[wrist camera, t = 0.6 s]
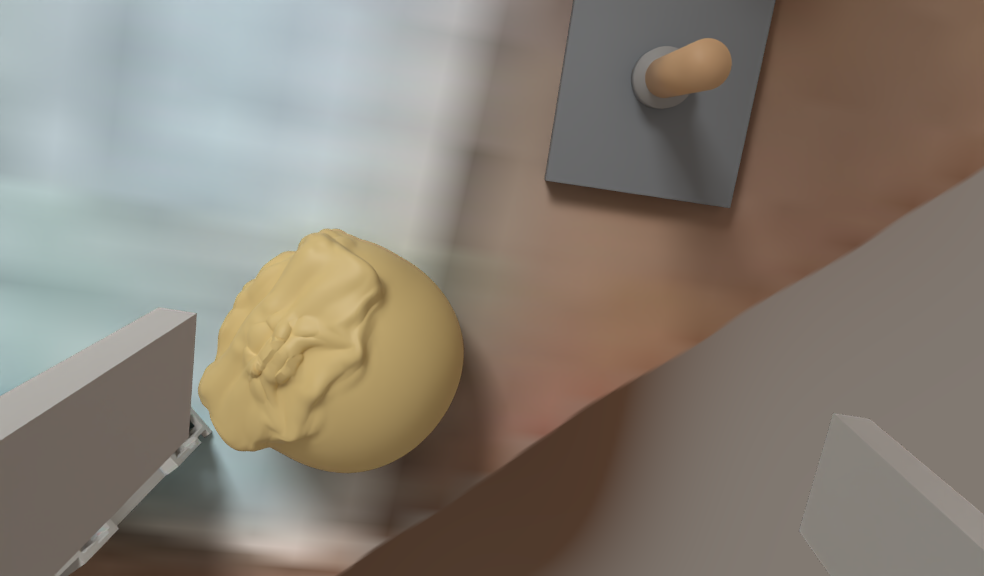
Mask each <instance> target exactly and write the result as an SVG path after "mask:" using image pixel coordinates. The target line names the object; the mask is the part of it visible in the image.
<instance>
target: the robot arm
mask: <svg viewBox="0 0 984 576" xmlns="http://www.w3.org/2000/svg"><path fill="white" fill-rule="evenodd" d="M196 317H197V313H192V312H185V311H179V310H173V309H166V308H160V307H159V308H157V309H155V310H153V311H151V312H150V313H148V314H146V315H144V316H143V317H141V318H139V319H137V320H135V321H134V322H132V323H130V324H128V325H126V326H125V327H123V328H121V329H119V330H117V331H116V332H114V333H112V334H110V335H109V336H107V337H105V338H103V339H101V340H100V341H98V342H96V343H94V344H92V345H91V346H89V347H87V348H85V349H84V350H82V351H80V352H78V353H76V354H75V355H73V356H71V357H69V358H67V359H66V360H64V361H62V362H60V363H59V364H57V365H55V366H53V367H51V368H50V369H48V370H46V371H44V372H42V373H41V374H39V375H37V376H35V377H34V378H32V379H30V380H28V381H26V382H25V383H23V384H21V385H19V386H17V387H16V388H14V389H12V390H10V391H9V392H7V393H5V394H3V395H1V396H0V576H54V575H55V574H56V573H57V572H58V571H59V570H60V569H61V568H62V567H63V566H64V565H65V564H66V563H67V562H68V561H69V560H70V559H71V558H72V557H73V556H74V555H75V554H76V553H77V552H78V551H79V550H80V549H81V548H82V547H83V546H84V545H85V544H86V542H87V541H88V540H89V539H90V538H91V537H92V536H93V535H94V534H95V533H96V532H97V531H98V530H99V529H100V528H101V527H102V526H103V525H104V524H105V523H106V522H107V521H108V520H109V519H110V518H111V517H112V516H113V515H114V514H115V513H116V512H117V511H118V510H119V509H120V508H121V507H122V506H123V505H124V504H125V503H126V501H127V500H128V499H129V498H130V497H131V496H132V495H133V494H134V493H135V492H136V491H137V490H138V489H139V488H140V487H141V486H142V485H143V484H144V483H145V482H146V481H147V480H148V479H149V478H150V477H151V476H152V475H153V474H154V473H155V472H156V471H157V470H158V469H159V468H160V467H161V466H162V465H163V464H164V463H165V462H166V461H167V459H168V458H169V457H170V456H171V455H172V454H173V453H174V452H175V451H176V450H177V449H178V448H179V447H180V446H181V445H182V444H183V443H184V442H185V441H186V440H187V439H188V438H189V425H190V409H191V394H192V378H193V363H194V348H195V332H196ZM799 532H800V533H801V535H802V536H803V538H804V539H805V541H806V542H807V544H808V545H809V546H810V548H811V549H812V551H813V552H814V554H815V555H816V556H817V558H818V559H819V561H820V562H821V563H822V565H823V566H824V568H825V569H826V571H827V572H828V573H829V575H830V576H984V514H983V513H982V512H981V511H979V510H978V509H977V508H976V507H975V506H973V505H972V504H971V503H970V502H969V501H967V500H966V499H965V498H964V497H963V496H962V495H960V494H959V493H958V492H957V491H955V490H954V489H953V488H952V487H951V486H950V485H948V484H947V483H946V482H944V480H942V479H941V478H940V477H939V476H938V475H936V474H935V473H934V472H933V471H931V470H930V469H929V468H928V467H927V466H926V465H924V464H923V463H922V462H921V461H920V460H918V459H917V458H916V457H915V456H914V455H912V454H911V453H910V452H909V451H908V450H907V449H905V448H904V447H903V446H902V445H901V444H899V443H898V442H897V441H896V440H895V439H893V438H892V437H891V436H890V435H889V434H887V433H886V432H885V431H884V430H883V429H881V428H880V427H879V426H878V425H877V424H875V423H874V422H873V421H872V420H871V419H869V418H863V417H856V416H850V415H844V414H837V413H833V415H832V418H831V422H830V425H829V429H828V432H827V436H826V439H825V442H824V446H823V449H822V453H821V457H820V460H819V463H818V467H817V470H816V473H815V477H814V480H813V484H812V487H811V491H810V494H809V498H808V501H807V505H806V508H805V511H804V515H803V518H802V522H801V525H800V529H799Z"/></svg>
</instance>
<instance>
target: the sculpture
mask: <svg viewBox="0 0 984 576" xmlns="http://www.w3.org/2000/svg"><path fill="white" fill-rule="evenodd" d="M463 359H464V347H463V338H462V333H461V329H460V326H459V322H458V320H457V317H456V315H455V313H454V311H453V309H452V307H451V305H450V303H449V302H448V300H447V298H446V297H445V296H444V294H443V293H442V291H441V290H440V289H439V288H438V286H437V285H436V284H435V283H434V282H433V281H432V280H431V279H430V278H429V277H428V276H427V275H426V274H425V273H423V272H422V271H421V270H420V269H419V268H417V267H416V266H415V265H413V264H412V263H410V262H408V261H407V260H405V259H403V258H402V257H400V256H398V255H397V254H395V253H393V252H391V251H390V250H388V249H386V248H384V247H382V246H379V245H377V244H375V243H372V242H369V241H366V240H362V239H359V238H357V237H355V236H352V235H349V234H347V233H346V232H344V231H342V230H340V229H332V230H331V229H323V230H321V231H320V232H318V233H312V234H309V235H307V236H305V237H304V238H303V239H302V240H301V242H300V243H299V246H298V250H297V251H286V252H283V253H281V254H279V255H278V256H276V257H275V258H273V259H272V260H270V261H269V262H268V263H267V264H265V265H264V266H263V267H262V268H261V270H260V272H259V273H258V275H257V277H256V278H255V279H253V280H251V281H249V282H248V283H247V284H245V285H244V287H243V289H242V291H241V292H240V293H239V294H238V295H237V297H236V299H235V302H234V306H233V309H232V310H231V311H230V312H229V313H228V315H227V316H226V318H225V320H224V322H223V324H222V326H221V328H220V330H219V335H218V349H217V355H216V359H215V361H214V362H213V363H211V364H210V365H209V366H208V367H207V368H206V369H205V371H204V374H203V376H202V378H201V380H200V383H199V387H198V394H199V397H200V400H201V402H202V404H203V405H204V406H205V407H206V408H207V409H208V410H209V413H210V418H211V421H212V423H213V425H214V427H215V429H216V431H217V432H218V434H219V435H220V437H221V438H222V439H223V441H224V442H225V443H226V444H227V445H229V446H230V447H231V448H233V449H235V450H238V451H257V450H261V449H264V448H268V447H270V448H272V449H274V450H276V451H278V452H280V453H282V454H284V455H286V456H287V457H289V458H291V459H293V460H295V461H297V462H299V463H302V464H304V465H307V466H309V467H312V468H316V469H320V470H324V471H329V472H337V473H356V472H363V471H368V470H372V469H376V468H379V467H382V466H385V465H387V464H389V463H391V462H393V461H395V460H397V459H399V458H401V457H402V456H404V455H406V454H407V453H409V452H410V451H411V450H413V449H414V448H415V447H416V446H418V445H419V444H420V443H421V442H422V441H423V440H424V439H425V438H426V437H427V436H428V435H429V434H430V433H431V432H432V431H433V430H434V428H435V427H436V426H437V425H438V423H439V422H440V421H441V419H442V418H443V416H444V415H445V413H446V411H447V410H448V408H449V406H450V404H451V402H452V400H453V398H454V396H455V393H456V391H457V388H458V385H459V382H460V378H461V374H462V368H463Z"/></svg>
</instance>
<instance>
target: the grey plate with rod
mask: <svg viewBox="0 0 984 576" xmlns="http://www.w3.org/2000/svg"><path fill="white" fill-rule="evenodd" d="M774 5H775V0H573V5H572V12H571V18H570V24H569V30H568V36H567V43H566V49H565V55H564V61H563V67H562V74H561V80H560V86H559V92H558V98H557V105H556V111H555V117H554V123H553V129H552V136H551V142H550V148H549V154H548V160H547V167H546V173H545V180H546V181H552V182H559V183H566V184H572V185H579V186H586V187H592V188H599V189H606V190H613V191H619V192H626V193H633V194H639V195H646V196H653V197H659V198H666V199H673V200H679V201H686V202H693V203H699V204H706V205H713V206H720V207H726V208H730V206H731V202H732V197H733V192H734V188H735V183H736V179H737V174H738V170H739V165H740V160H741V156H742V151H743V147H744V142H745V138H746V133H747V128H748V124H749V119H750V115H751V110H752V105H753V101H754V96H755V92H756V87H757V83H758V78H759V73H760V69H761V64H762V60H763V55H764V51H765V46H766V41H767V37H768V32H769V28H770V23H771V19H772V14H773V9H774Z"/></svg>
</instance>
